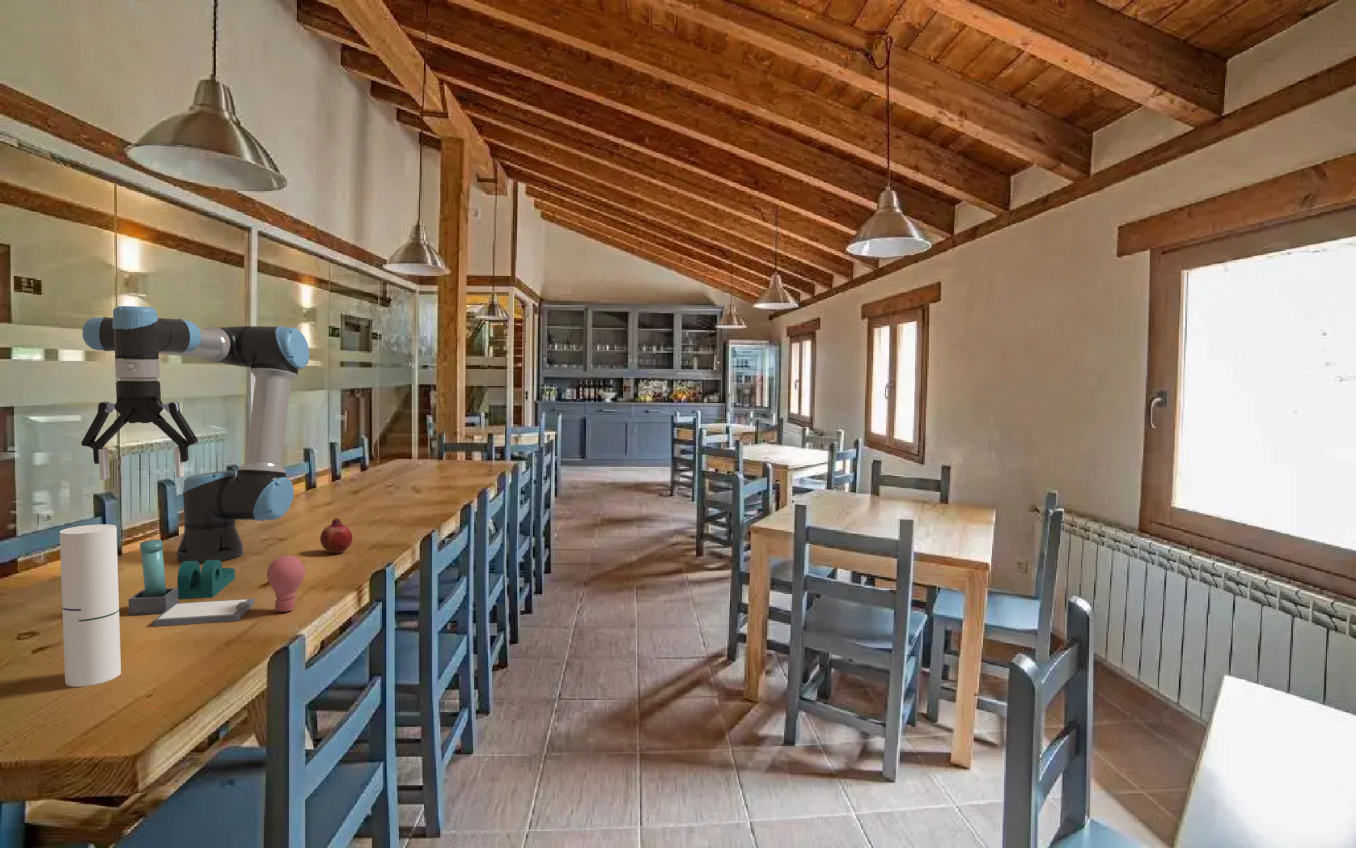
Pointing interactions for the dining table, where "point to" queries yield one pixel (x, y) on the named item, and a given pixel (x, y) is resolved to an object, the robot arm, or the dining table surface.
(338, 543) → the fruit
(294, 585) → the light bulb
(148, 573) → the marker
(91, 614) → the cylindrical container
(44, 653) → the dining table surface
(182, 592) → the bracket
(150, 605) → the pen holder
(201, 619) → the clipboard
